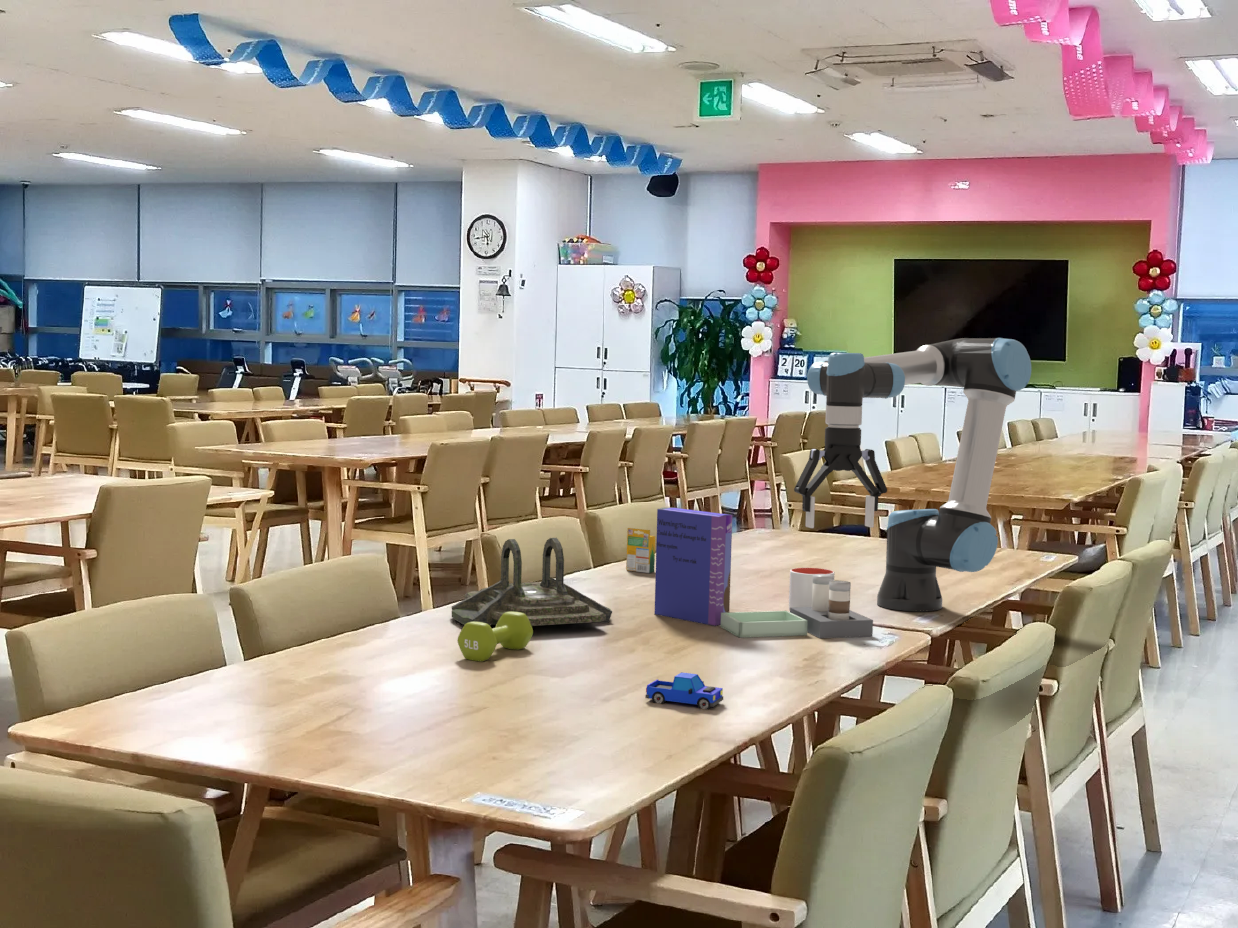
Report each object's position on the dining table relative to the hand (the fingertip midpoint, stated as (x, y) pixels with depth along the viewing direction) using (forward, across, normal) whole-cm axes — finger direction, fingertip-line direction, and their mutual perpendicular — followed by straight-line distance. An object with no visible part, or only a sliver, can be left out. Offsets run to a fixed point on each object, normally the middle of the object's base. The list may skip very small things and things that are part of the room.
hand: (839, 527), depth 291 cm
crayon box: (+23, +18, -84) cm, 89 cm away
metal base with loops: (+23, +61, -24) cm, 69 cm away
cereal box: (+23, +26, -19) cm, 40 cm away
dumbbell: (+23, +74, +8) cm, 78 cm away
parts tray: (+23, +15, -4) cm, 27 cm away
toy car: (+23, +50, +50) cm, 74 cm away
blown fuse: (+23, 0, 0) cm, 23 cm away
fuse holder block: (+23, 0, -4) cm, 23 cm away
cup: (+23, -3, -21) cm, 31 cm away
